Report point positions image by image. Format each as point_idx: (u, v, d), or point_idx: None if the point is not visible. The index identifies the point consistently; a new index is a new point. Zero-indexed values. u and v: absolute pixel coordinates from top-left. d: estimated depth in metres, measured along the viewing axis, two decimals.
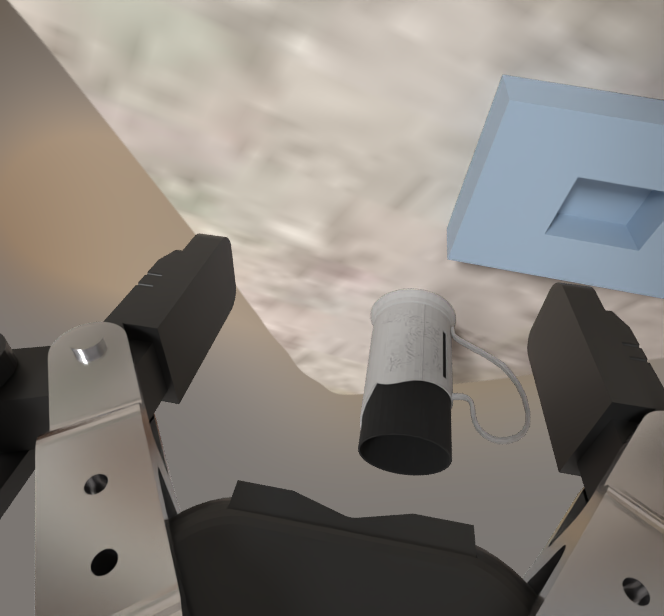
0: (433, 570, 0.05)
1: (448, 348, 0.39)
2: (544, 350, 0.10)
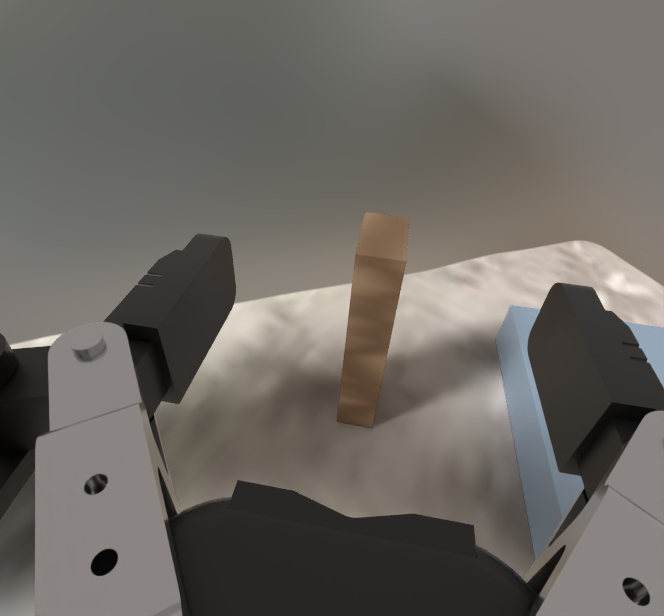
0: (433, 570, 0.05)
1: None
2: (544, 350, 0.10)
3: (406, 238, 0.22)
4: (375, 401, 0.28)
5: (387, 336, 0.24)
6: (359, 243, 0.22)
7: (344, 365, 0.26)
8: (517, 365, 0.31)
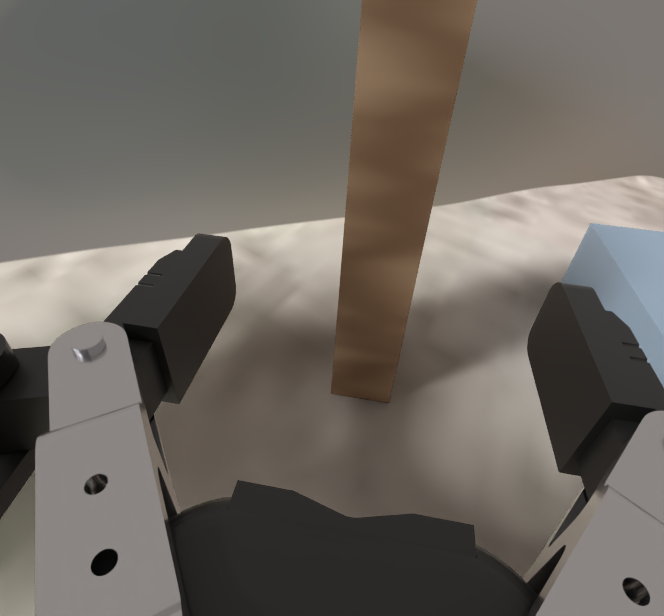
0: (433, 570, 0.05)
1: None
2: (544, 350, 0.10)
3: None
4: (396, 353, 0.16)
5: (423, 213, 0.12)
6: None
7: (342, 283, 0.15)
8: (617, 303, 0.20)
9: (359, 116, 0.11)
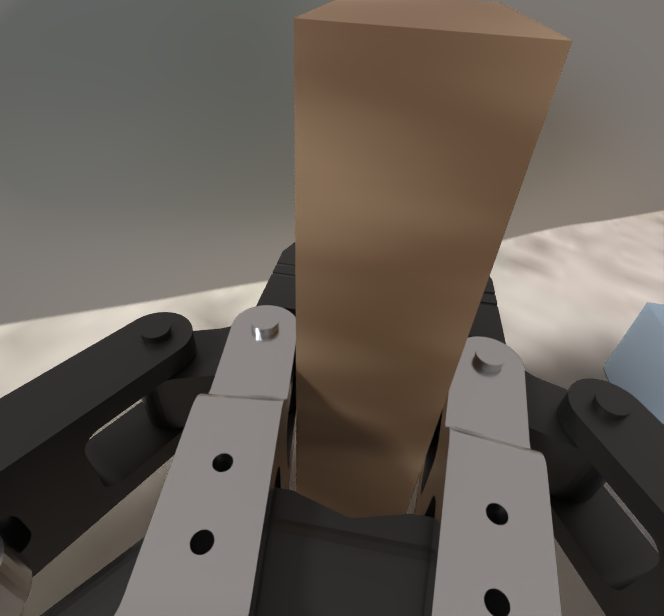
0: None
1: None
2: None
3: (520, 15, 0.05)
4: None
5: (430, 403, 0.07)
6: (322, 10, 0.05)
7: (299, 472, 0.09)
8: None
9: (308, 259, 0.06)
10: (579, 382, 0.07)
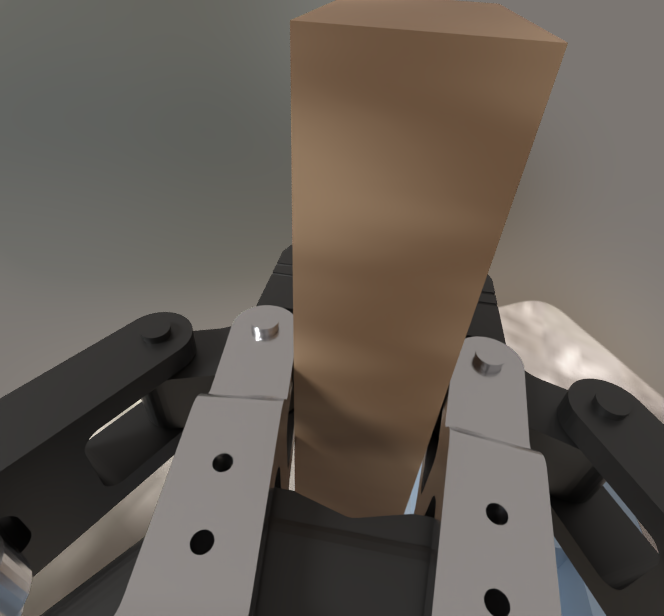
0: None
1: None
2: None
3: (517, 17, 0.05)
4: None
5: (428, 404, 0.07)
6: (318, 11, 0.05)
7: (298, 472, 0.09)
8: None
9: (305, 260, 0.06)
10: (579, 382, 0.07)
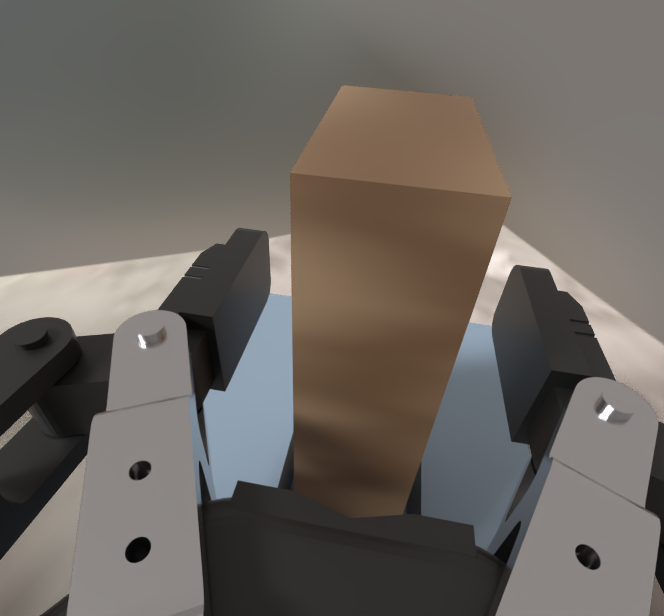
0: (433, 570, 0.05)
1: None
2: (504, 330, 0.10)
3: (481, 135, 0.06)
4: None
5: (412, 452, 0.08)
6: (313, 144, 0.06)
7: None
8: None
9: (303, 339, 0.07)
10: None
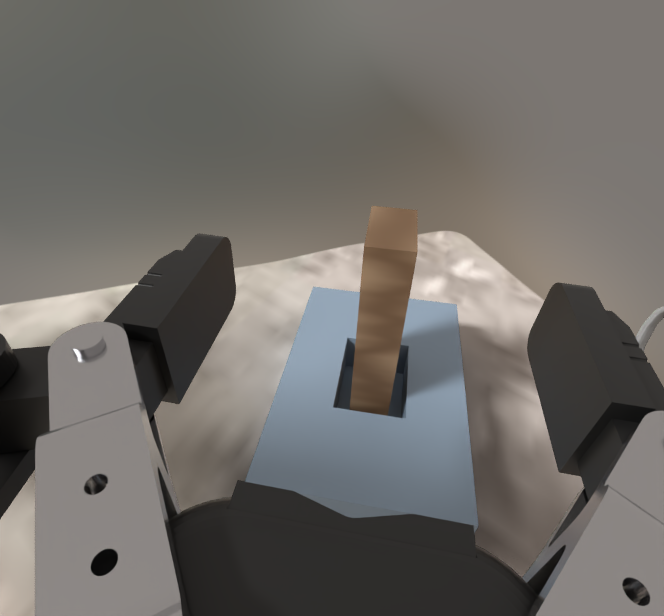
0: (433, 570, 0.05)
1: None
2: (544, 350, 0.10)
3: (415, 230, 0.21)
4: (388, 403, 0.27)
5: (398, 333, 0.23)
6: (367, 236, 0.21)
7: (354, 365, 0.25)
8: None
9: (363, 291, 0.22)
10: None
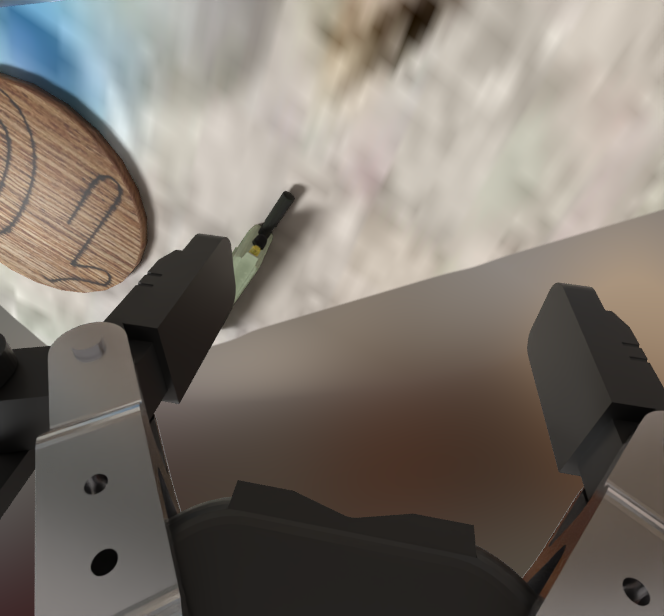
0: (433, 570, 0.05)
1: None
2: (544, 350, 0.10)
3: None
4: None
5: None
6: None
7: None
8: None
9: None
10: None
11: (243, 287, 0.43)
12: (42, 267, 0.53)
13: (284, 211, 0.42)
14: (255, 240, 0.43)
